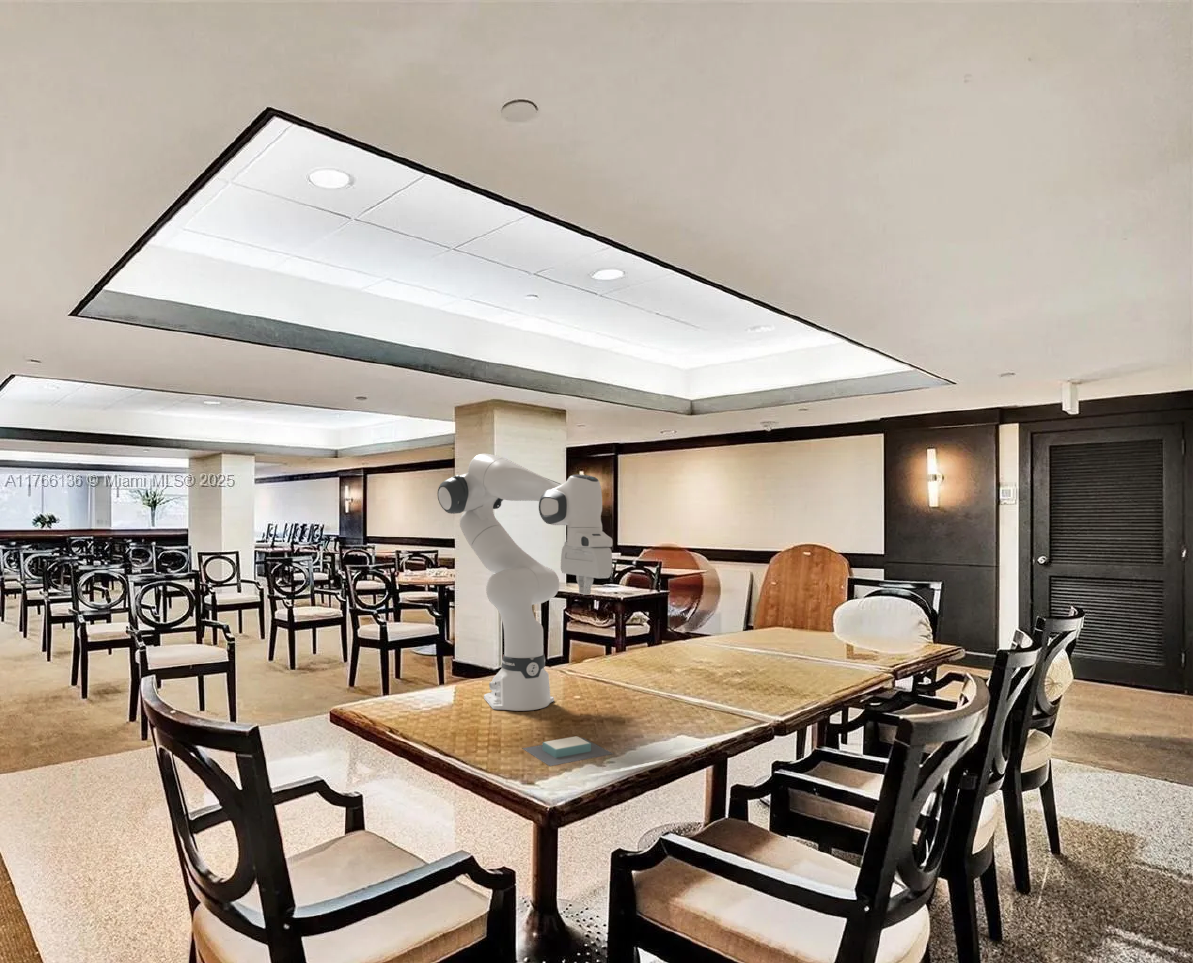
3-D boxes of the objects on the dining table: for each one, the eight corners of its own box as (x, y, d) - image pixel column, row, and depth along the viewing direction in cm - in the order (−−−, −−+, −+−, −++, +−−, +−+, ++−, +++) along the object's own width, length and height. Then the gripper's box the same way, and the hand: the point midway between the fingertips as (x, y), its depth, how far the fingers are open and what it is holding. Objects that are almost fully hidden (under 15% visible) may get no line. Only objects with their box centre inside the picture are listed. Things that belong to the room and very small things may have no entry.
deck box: (542, 741, 173) (555, 749, 167) (577, 735, 177) (591, 743, 172) (542, 750, 173) (555, 758, 167) (577, 743, 177) (591, 751, 172)
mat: (522, 751, 174) (522, 748, 174) (583, 740, 182) (583, 737, 182) (549, 768, 162) (549, 766, 162) (613, 756, 170) (613, 753, 170)
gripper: (554, 537, 198) (554, 591, 198) (594, 540, 181) (594, 598, 180) (575, 537, 201) (575, 589, 201) (616, 539, 184) (616, 597, 183)
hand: (584, 594), depth 190 cm, fingers closed
